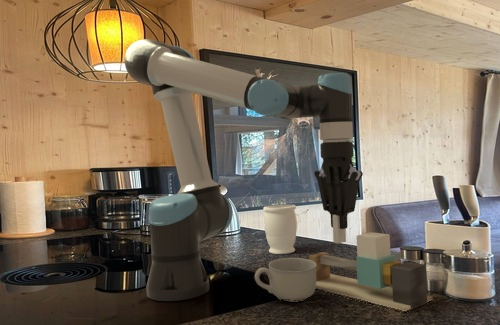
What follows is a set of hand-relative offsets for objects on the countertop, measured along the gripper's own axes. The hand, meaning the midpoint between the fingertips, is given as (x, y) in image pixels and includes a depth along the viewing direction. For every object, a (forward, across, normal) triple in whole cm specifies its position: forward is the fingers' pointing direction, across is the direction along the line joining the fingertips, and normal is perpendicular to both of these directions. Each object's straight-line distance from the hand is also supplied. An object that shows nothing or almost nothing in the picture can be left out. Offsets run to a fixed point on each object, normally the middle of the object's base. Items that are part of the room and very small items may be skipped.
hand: (339, 242), depth 110 cm
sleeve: (+8, -10, 0) cm, 13 cm away
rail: (+11, -6, 0) cm, 12 cm away
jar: (+12, +41, -18) cm, 46 cm away
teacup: (+11, +4, +14) cm, 18 cm away
